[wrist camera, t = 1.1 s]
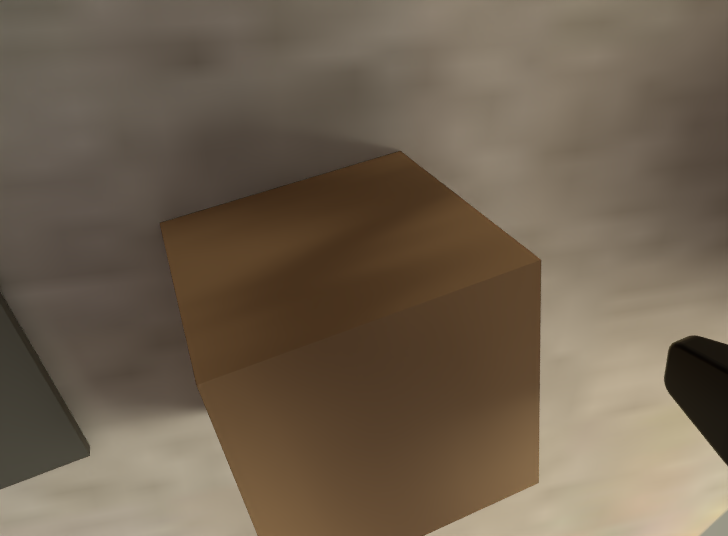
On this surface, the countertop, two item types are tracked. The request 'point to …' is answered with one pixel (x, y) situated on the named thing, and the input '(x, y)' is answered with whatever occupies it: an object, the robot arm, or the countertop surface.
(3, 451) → the mat
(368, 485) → the walnut cube
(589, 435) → the countertop surface
